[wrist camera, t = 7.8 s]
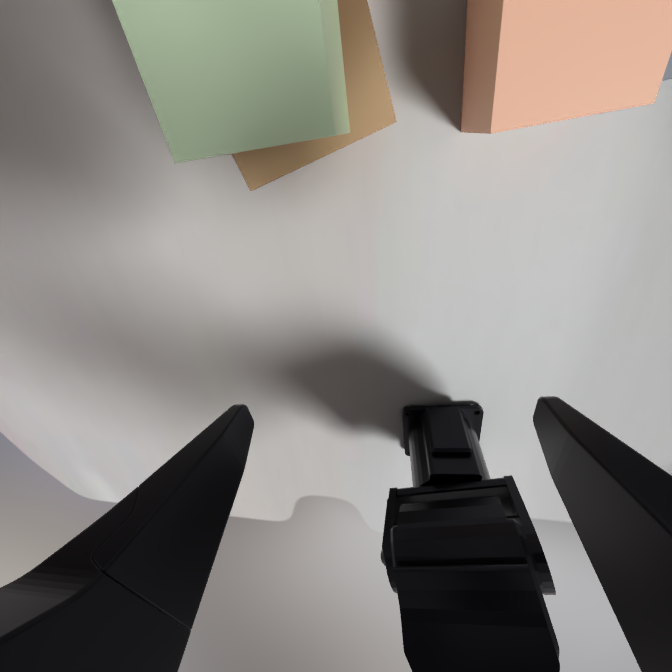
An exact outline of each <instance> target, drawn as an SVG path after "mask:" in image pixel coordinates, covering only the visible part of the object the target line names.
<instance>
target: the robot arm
mask: <svg viewBox="0 0 672 672" xmlns="http://www.w3.org/2000/svg"><path fill="white" fill-rule="evenodd" d="M408 412H409V413H408ZM402 415H403V430H404V445H405V454H406V455H407V456H410V459H411V470H412V481H413V487H410V488H401V489H397V488H390V491H389V499H388V500H387V508H386V517H385V526H384V534H383V543H382V551H381V560H382V563H383V564H384V565H385V566H386V569H387V575H388V578H389V582H390V585H391V587H392V589H393V591H394V592H395V593H398V599H399V605H400V613H401V623H402V634H403V645H404V653H405V656H406V658H407V660H408V662H409V665H410V667H411V669H412V672H559V671H560V663H559V646H558V642H557V639H556V635H555V633H554V629H553V626H552V623H551V620H550V617H549V614H548V610H547V607H546V604H545V601H544V598H543V595H542V594H545V595H555V594H556V592H555V587H554V584H553V580H552V576H551V573H550V570H549V567H548V564H547V561H546V558H545V555H544V552H543V550H542V547H541V544H540V542H539V539H538V536H537V534H536V531H535V529H534V526H533V524H532V521H531V519H530V517H529V514H528V512H527V510H526V507H525V505H524V503H523V500H522V498H521V496H520V493H519V491H518V489H517V486H516V484H515V481H514V479H513V477H512V475H511V476H504V478H496V479H490V476H489V473H488V470H487V467H486V463H485V460H484V457H483V454H482V451H481V447H480V444H479V439H480V432H481V426H482V419H483V409H482V407H481V406H479V405H456V406H412V407H404V408H403V409H402ZM533 422H534V426H535V429H536V432H537V435H538V438H539V441H540V444H541V447H542V450H543V453H544V456H545V459H546V462H547V465H548V468H549V471H550V474H551V476H552V479H553V481H554V483H555V486H556V488H557V490H558V492H559V494H560V496H561V498H562V501H563V503H564V505H565V507H566V509H567V511H568V514H569V516H570V518H571V520H572V522H573V524H574V527H575V529H576V531H577V533H578V535H579V537H580V540H581V542H582V544H583V546H584V548H585V550H586V552H587V555H588V557H589V559H590V561H591V563H592V565H593V567H594V570H595V572H596V574H597V576H598V578H599V581H600V583H601V585H602V587H603V589H604V591H605V593H606V596H607V598H608V600H609V602H610V604H611V606H612V609H613V611H614V613H615V615H616V617H617V619H618V622H619V624H620V626H621V628H622V630H623V632H624V634H625V637H626V639H627V641H628V643H629V645H630V647H631V649H632V652H633V654H634V656H635V658H636V660H637V663H638V665H639V667H640V669H641V671H642V672H672V476H671V475H670V474H669V473H667V472H666V471H664V470H663V469H661V468H660V467H658V466H657V465H655V464H654V463H653V462H651V461H650V460H648V459H647V458H645V457H644V456H642V455H641V454H639V453H638V452H637V451H635V450H634V449H632V448H631V447H629V446H628V445H626V444H625V443H624V442H622V441H621V440H619V439H618V438H616V437H615V436H613V435H612V434H610V433H609V432H608V431H606V430H605V429H603V428H602V427H600V426H599V425H597V424H596V423H594V422H593V421H592V420H590V419H589V418H587V417H586V416H584V415H583V414H581V413H580V412H579V411H577V410H576V409H574V408H573V407H571V406H570V405H568V404H567V403H565V402H564V401H563V400H561V399H560V398H558V397H554V396H550V397H540V398H539V399H538V401H537V405H536V408H535V412H534V415H533ZM253 429H254V420H253V418H252V416H251V414H250V412H249V410H248V407H247V406H246V405H244V404H242V405H233V406H232V407H230V408H229V409H228V410H227V411H226V412H225V413H223V414H222V415H221V416H220V417H219V418H218V419H216V420H215V421H214V422H213V423H212V424H210V425H209V426H208V427H207V428H206V429H205V430H203V431H202V432H201V433H200V434H199V435H198V436H196V437H195V438H194V439H193V440H192V441H191V442H189V443H188V444H187V445H186V446H185V447H184V448H182V449H181V450H180V451H179V452H178V453H177V454H175V455H174V456H173V457H172V458H171V459H170V460H168V461H167V462H166V463H165V464H164V465H163V466H161V467H160V468H159V469H158V470H157V471H156V472H154V473H153V474H152V475H151V476H150V477H148V478H147V479H146V480H145V481H144V482H143V483H141V484H140V485H139V487H137V488H136V489H134V490H133V491H132V492H131V493H130V494H128V495H127V496H126V497H125V498H124V499H123V500H121V501H120V502H119V503H118V504H117V505H115V506H114V507H113V508H112V509H110V510H109V511H108V512H107V513H106V514H104V515H103V516H102V517H100V518H99V519H98V520H97V521H95V522H94V523H93V524H92V525H90V526H89V527H88V528H86V529H85V530H84V531H82V532H81V533H80V534H79V535H77V536H76V537H75V538H73V539H72V540H71V541H69V542H68V543H67V544H65V545H64V546H63V547H62V548H60V549H59V550H58V551H56V552H55V553H54V554H52V555H51V556H50V557H48V558H47V559H46V560H44V561H43V562H42V563H41V564H39V565H38V566H36V567H35V568H34V569H32V570H31V571H30V572H28V573H26V574H25V575H23V576H22V577H20V578H18V579H17V580H15V581H13V582H11V583H9V584H7V585H5V586H3V587H1V588H0V672H178V669H179V666H180V663H181V660H182V656H183V654H184V651H185V648H186V645H187V642H188V638H189V635H190V632H191V629H192V626H193V623H194V620H195V617H196V614H197V611H198V608H199V605H200V602H201V599H202V596H203V593H204V590H205V587H206V584H207V581H208V578H209V575H210V572H211V569H212V566H213V563H214V560H215V557H216V554H217V550H218V548H219V545H220V542H221V539H222V536H223V533H224V530H225V527H226V524H227V520H228V518H229V515H230V512H231V509H232V506H233V503H234V500H235V497H236V494H237V491H238V487H239V484H240V481H241V478H242V475H243V472H244V469H245V465H246V460H247V456H248V451H249V447H250V442H251V438H252V433H253Z"/></svg>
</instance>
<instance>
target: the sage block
mask: <svg viewBox="0 0 672 672" xmlns="http://www.w3.org/2000/svg"><path fill="white" fill-rule="evenodd" d="M112 2H113V5H114V7H115V10H116V12H117V15H118V18H119V20H120V23H121V25H122V28H123V31H124V33H125V36H126V38H127V41H128V43H129V46H130V49H131V51H132V54H133V56H134V59H135V62H136V64H137V67H138V69H139V72H140V75H141V77H142V80H143V82H144V85H145V88H146V90H147V93H148V95H149V98H150V101H151V103H152V106H153V108H154V111H155V113H156V116H157V119H158V121H159V124H160V126H161V129H162V132H163V134H164V137H165V139H166V142H167V145H168V147H169V150H170V152H171V155H172V158H173V160H174V163H179V162H185V161H191V160H197V159H203V158H209V157H215V156H220V155H226V154H232V153H238V152H244V151H250V150H255V149H261V148H267V147H273V146H278V145H284V144H290V143H296V142H301V141H307V140H313V139H319V138H324V137H330V136H336V135H342V134H347V133H350V125H349V115H348V105H347V95H346V84H345V74H344V64H343V54H342V43H341V33H340V23H339V13H338V2H337V0H112Z"/></svg>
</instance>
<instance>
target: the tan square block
mask: <svg viewBox="0 0 672 672" xmlns="http://www.w3.org/2000/svg"><path fill="white" fill-rule="evenodd" d="M337 2H338V13H339V23H340V33H341V43H342V54H343V64H344V74H345V84H346V95H347V105H348V115H349V125H350V133H347V134H342V135H336V136H330V137H324V138H319V139H313V140H307V141H301V142H296V143H290V144H284V145H278V146H273V147H267V148H261V149H255V150H250V151H244V152H238V153H232V155H233V157H234V159H235V161H236V163H237V165H238V167H239V169H240V171H241V173H242V175H243V177H244V179H245V181H246V183H247V185H248V187H249V189H250V191H252V190H255V189H257V188H259V187H261V186H263V185H265V184H267V183H269V182H271V181H273V180H276V179H278V178H280V177H282V176H284V175H286V174H288V173H290V172H292V171H294V170H297V169H299V168H301V167H303V166H305V165H307V164H309V163H311V162H313V161H315V160H318V159H320V158H322V157H324V156H326V155H328V154H330V153H332V152H334V151H336V150H339V149H341V148H343V147H345V146H347V145H349V144H351V143H353V142H355V141H357V140H359V139H362V138H364V137H366V136H368V135H370V134H372V133H374V132H376V131H378V130H380V129H383V128H385V127H387V126H389V125H391V124H393V123H395V122H396V118H395V114H394V110H393V105H392V101H391V97H390V93H389V89H388V85H387V81H386V77H385V73H384V68H383V64H382V60H381V56H380V52H379V48H378V44H377V40H376V35H375V31H374V27H373V23H372V19H371V15H370V11H369V7H368V3H367V0H337Z"/></svg>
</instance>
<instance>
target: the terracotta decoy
mask: <svg viewBox="0 0 672 672" xmlns="http://www.w3.org/2000/svg"><path fill="white" fill-rule="evenodd" d="M671 52H672V0H468V3H467V23H466V42H465V61H464V80H463V100H462V119H461V132H467V133H490V134H491V133H496V132H501V131H507V130H512V129H518V128H523V127H528V126H534V125H539V124H545V123H550V122H555V121H561V120H566V119H572V118H577V117H582V116H588V115H593V114H599V113H604V112H609V111H615V110H620V109H625V108H631V107H636V106H642V105H647V104H652V103H655V100H656V97H657V94H658V91H659V88H660V85H661V82H662V79H663V76H664V73H665V70H666V67H667V64H668V61H669V58H670V55H671Z"/></svg>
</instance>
